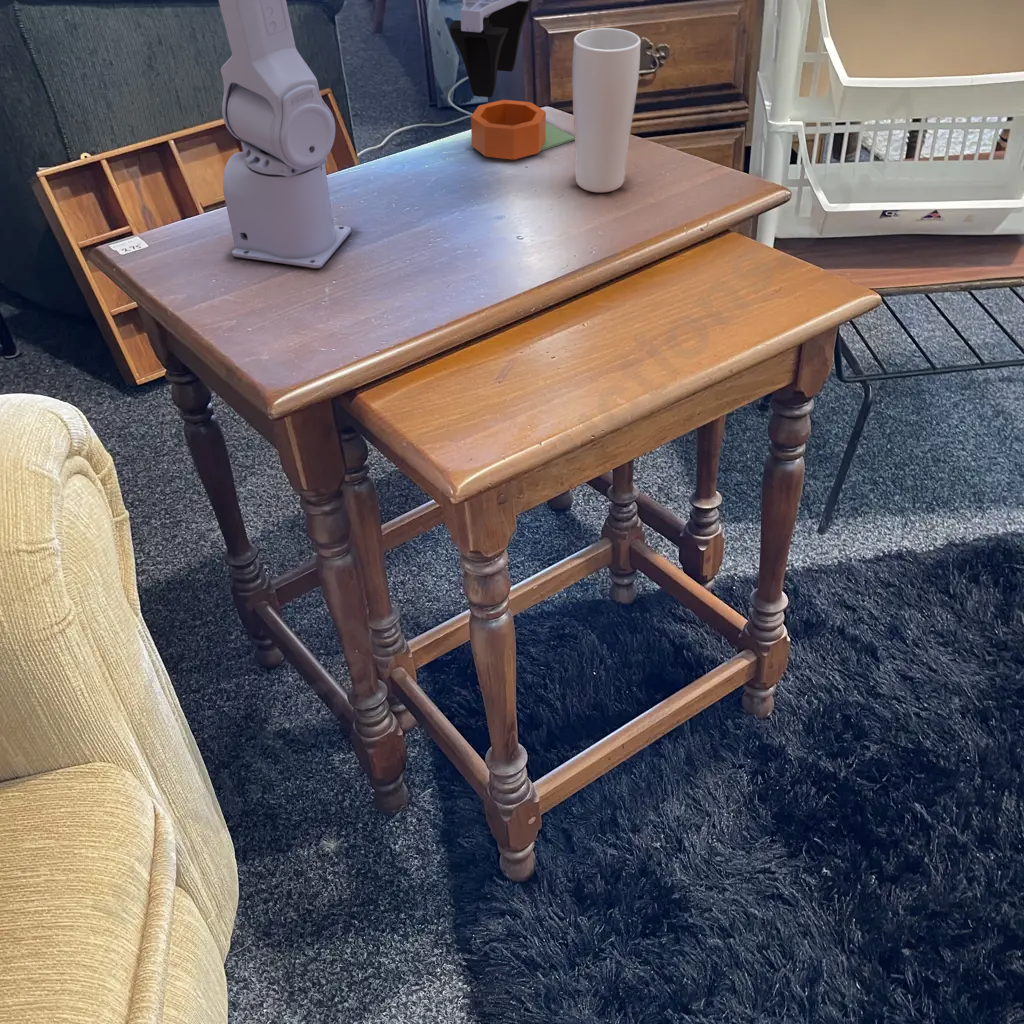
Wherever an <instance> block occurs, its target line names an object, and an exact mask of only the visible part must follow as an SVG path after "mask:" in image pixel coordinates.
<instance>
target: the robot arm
mask: <svg viewBox="0 0 1024 1024" xmlns="http://www.w3.org/2000/svg"><path fill="white" fill-rule="evenodd" d="M218 4H219V8H220V11H221V17H222V19H223V23H224V27H225V32H226V35H227V39H228V43H229V48H230V51H231V55H230V57H229V58H228V59H227V60H226V61H225V63H224V64H223V65H222V66H221V68H220V74H221V78H222V83H223V97H222V103H221V113H222V119H223V123H224V124H225V127H226V128H227V130H228V132H229V133H230V134H231V135H232V136H233V137H234V138H235V139H236V140H239V141H240V144H241V149H242V151H237V152H234V153H233V154H232V155H230V157H229V158H228V160H227V162H226V164H225V167H224V170H223V178H222V191H223V197H224V202H225V207H226V211H227V215H228V220H229V224H230V229H231V234H232V238H233V242H234V246H235V247H234V248H233V249H232V251H231V254H232V256H233V257H235V258H240V259H250V260H255V261H263V262H269V263H275V264H276V263H277V264H283V265H284V264H285V265H291V266H297V267H304V268H312V269H321V268H323V266H325V264H326V262H327V261H328V260H329V259H330V258H331V257H332V256H333V254H335V252H336V251H337V249H338V248H339V247H340V246H341V245H342V243H344V241H345V240H346V239H347V237H348V236H349V235H350V234H351V233H352V228H351V227H350V226H348V225H340V224H334V223H335V222H334V217H333V210H332V204H331V203H332V202H331V196H330V189H329V182H328V175H327V168H326V164H327V163H328V158H327V157H328V156H329V155H330V152H331V150H332V148H333V145H334V143H335V138H336V122H335V117H334V115H333V112H332V111H331V109H330V107H328V105H327V103H326V102H325V101H324V99H323V97H322V94H321V91H320V88H319V82H318V79H317V76H315V74H314V73H313V71H312V70H311V68H310V67H309V66H308V64H307V62H306V61H305V60H304V58H303V57H302V55H301V54H300V53H299V50H298V49H297V47H296V42H295V37H294V32H293V28H292V22H291V18H290V13H289V8H288V3H287V0H218ZM532 4H533V0H462V7H461V9H460V10H459V11H460V20H459V19H455V20H454V21H453V22H451V24H450V25H449V32H450V33H449V34H450V37H451V39H452V40H453V42H454V44H455V45H456V47H457V50H458V51H459V53H460V56H461V58H462V61H463V64H464V68H465V70H466V74H467V79H468V83H469V86H470V89H471V93H472V95H473V96H474V97H482V98H492V97H493V96H494V95H495V90H496V84H497V77H498V71H501V72H511V73H512V72H513V71H514V68H515V65H516V60H517V56H518V50H519V44H520V39H521V34H522V30H523V27H524V23H525V21H526V18H527V15H528V13H529V11H530V9H531V6H532Z"/></svg>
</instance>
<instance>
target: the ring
mask: <svg viewBox="0 0 1024 1024" xmlns="http://www.w3.org/2000/svg"><path fill="white" fill-rule="evenodd" d="M546 117H547V112H546V110H544V109H542V108H541V107H539V106H538V105H536V104H534V103H533V102H530V101H521V100H511V99H510V100H509V99H501V100H496V101H492V102H487V103H483V104H480V105H478V106H477V107H476V109H475V110H474V111H473V113H472V114H471V115H470V131H471V132H470V133H471V134H470V135H471V147H472V148H473V149H475V150H476V151H478V152H479V153H480V154H481V155H483V157H486V158H495V159H503V160H517V159H521V158H525V157H529V156H533V155H536V154H539V153H540V152H541V151H540V150H541V148H542V146H543V145H544V143H545V129H546V123H547V121H546V120H547V118H546Z"/></svg>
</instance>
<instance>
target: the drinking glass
mask: <svg viewBox="0 0 1024 1024" xmlns="http://www.w3.org/2000/svg"><path fill="white" fill-rule="evenodd" d="M641 44H642V40H641V37H640V36H639V35H638V34H637V33H635V32H632V31H630V30H627V29H620V28H614V27H613V28H612V27H600V28H599V27H597V28H592V29H588V30H587V29H586V30H583V31H581V32H579V33H578V34H576V35H575V36H574V38H573V46H572V59H571V61H572V62H571V95H572V114H573V115H572V116H573V133H574V135H573V136H574V137H575V140H574V149H575V150H574V152H575V153H574V156H575V170H574V171H575V172H574V173H575V176H574V178H575V183H576V184H577V185H578V186H579V188H581V189H582V190H585V191H588V192H591V193H598V194H599V193H603V194H604V193H610V192H613V191H616V190H618V189H619V188H621V187H622V186H623V184H624V182H625V178H626V166H627V158H628V151H629V145H630V138H631V132H632V127H633V126H632V125H633V118H634V114H635V108H636V100H637V94H638V87H639V79H640V70H641V69H640V67H641V46H642V45H641Z"/></svg>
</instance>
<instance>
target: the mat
mask: <svg viewBox="0 0 1024 1024" xmlns="http://www.w3.org/2000/svg"><path fill="white" fill-rule="evenodd" d="M572 141H575V135H572V134H570V133H568V132H565V131H564V130H562V129H560V128H558V127H556V126H554V125H552V124H550V123H548V122H546V129H545V143H544V145H543V146H542V148H541V150H540V152H542V151H545V150H548V149H552V148H555V147H557V146H561V145H564V144H566V143H570V142H572Z"/></svg>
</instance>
